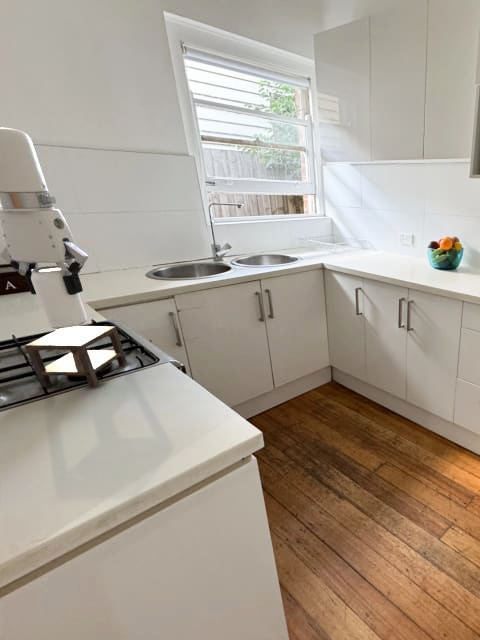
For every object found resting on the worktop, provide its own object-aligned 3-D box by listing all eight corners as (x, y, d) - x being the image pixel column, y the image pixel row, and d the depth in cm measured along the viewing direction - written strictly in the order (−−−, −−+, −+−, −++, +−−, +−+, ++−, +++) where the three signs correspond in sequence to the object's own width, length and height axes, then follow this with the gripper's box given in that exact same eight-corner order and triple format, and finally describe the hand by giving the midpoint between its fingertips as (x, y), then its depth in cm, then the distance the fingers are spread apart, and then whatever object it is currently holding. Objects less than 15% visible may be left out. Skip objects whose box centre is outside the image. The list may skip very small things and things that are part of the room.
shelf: (41, 387, 82) (24, 345, 78) (80, 364, 92) (66, 325, 88) (95, 387, 83) (80, 345, 79) (127, 364, 93) (115, 326, 89)
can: (72, 317, 86) (53, 264, 81) (95, 320, 84) (78, 266, 80) (40, 327, 80) (18, 270, 75) (66, 330, 79) (45, 273, 74)
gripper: (87, 201, 76) (113, 288, 83) (-5, 199, 75) (29, 287, 82) (57, 204, 69) (88, 298, 77) (-45, 201, 68) (-4, 297, 75)
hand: (57, 292), depth 79 cm, fingers closed on can, 6 cm apart
